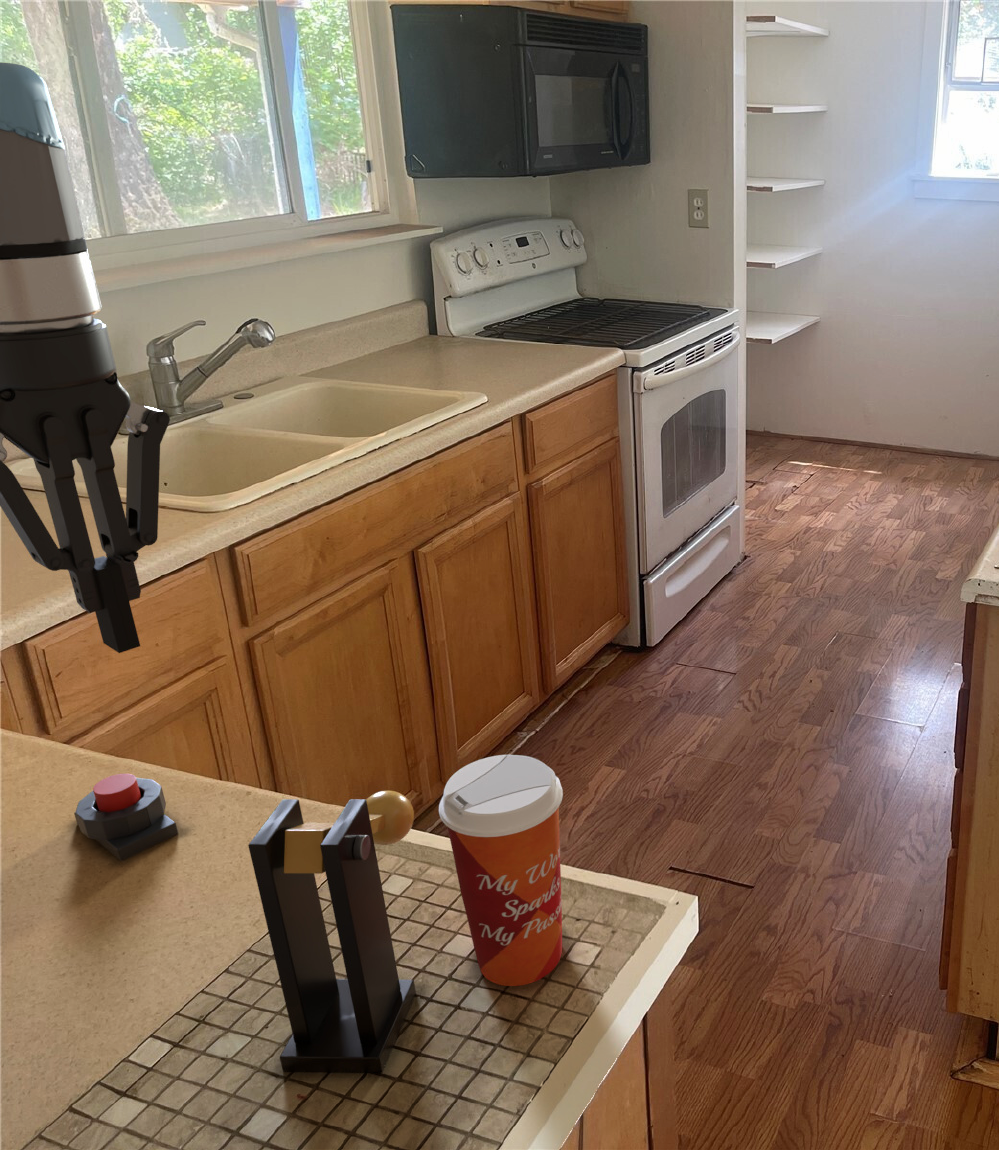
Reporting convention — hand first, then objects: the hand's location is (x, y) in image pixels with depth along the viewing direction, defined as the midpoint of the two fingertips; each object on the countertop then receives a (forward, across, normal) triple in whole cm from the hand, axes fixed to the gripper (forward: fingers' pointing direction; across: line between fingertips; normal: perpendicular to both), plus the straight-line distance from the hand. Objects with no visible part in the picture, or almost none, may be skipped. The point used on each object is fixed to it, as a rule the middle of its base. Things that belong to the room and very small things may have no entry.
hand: (121, 644), depth 80 cm
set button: (+14, +2, -4) cm, 15 cm away
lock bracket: (+17, +2, +30) cm, 34 cm away
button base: (+17, +2, -4) cm, 18 cm away
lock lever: (+7, -1, +27) cm, 28 cm away
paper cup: (+17, -8, +33) cm, 38 cm away
